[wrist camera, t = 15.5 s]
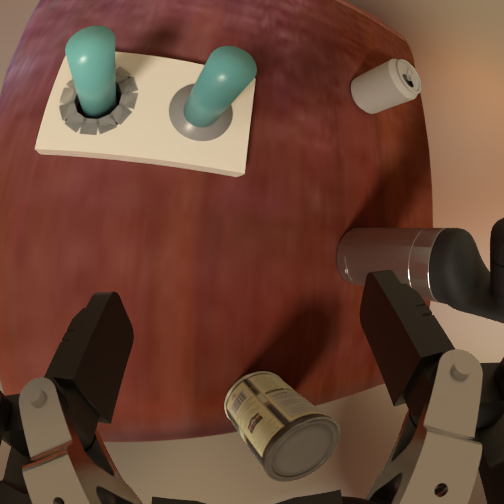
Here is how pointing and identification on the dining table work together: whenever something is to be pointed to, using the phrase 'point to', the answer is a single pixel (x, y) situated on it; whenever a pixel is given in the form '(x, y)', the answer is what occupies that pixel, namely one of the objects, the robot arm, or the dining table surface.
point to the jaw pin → (93, 69)
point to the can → (386, 86)
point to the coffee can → (280, 426)
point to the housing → (148, 120)
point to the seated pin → (219, 85)
